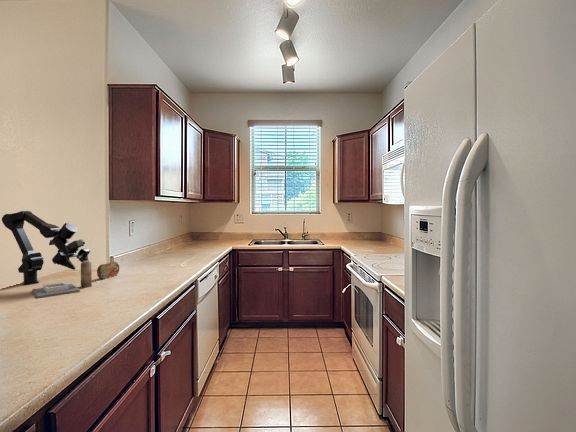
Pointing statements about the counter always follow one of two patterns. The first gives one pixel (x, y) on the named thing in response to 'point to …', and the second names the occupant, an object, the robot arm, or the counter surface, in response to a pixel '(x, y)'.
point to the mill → (86, 274)
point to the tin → (108, 270)
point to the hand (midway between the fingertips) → (82, 267)
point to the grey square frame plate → (55, 290)
